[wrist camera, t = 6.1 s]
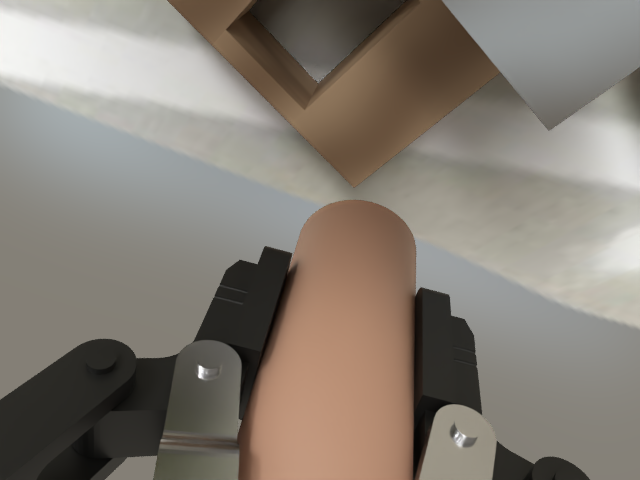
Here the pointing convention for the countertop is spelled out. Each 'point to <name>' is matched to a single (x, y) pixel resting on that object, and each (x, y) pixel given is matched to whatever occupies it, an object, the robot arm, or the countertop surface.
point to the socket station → (429, 67)
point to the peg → (338, 355)
